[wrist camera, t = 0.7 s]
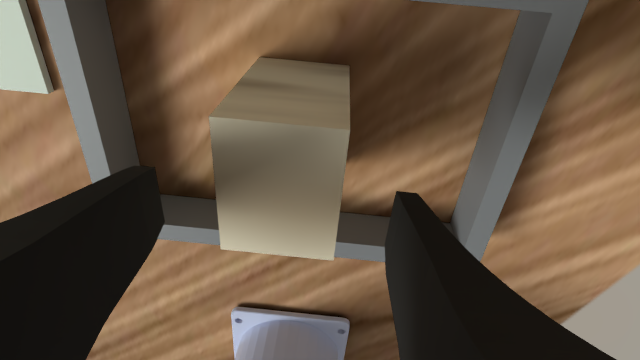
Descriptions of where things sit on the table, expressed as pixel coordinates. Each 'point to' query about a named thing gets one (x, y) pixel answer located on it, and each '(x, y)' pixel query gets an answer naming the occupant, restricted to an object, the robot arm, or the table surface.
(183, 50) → the table surface
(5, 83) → the mat
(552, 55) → the gray rectangular frame
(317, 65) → the birch block
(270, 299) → the table surface
